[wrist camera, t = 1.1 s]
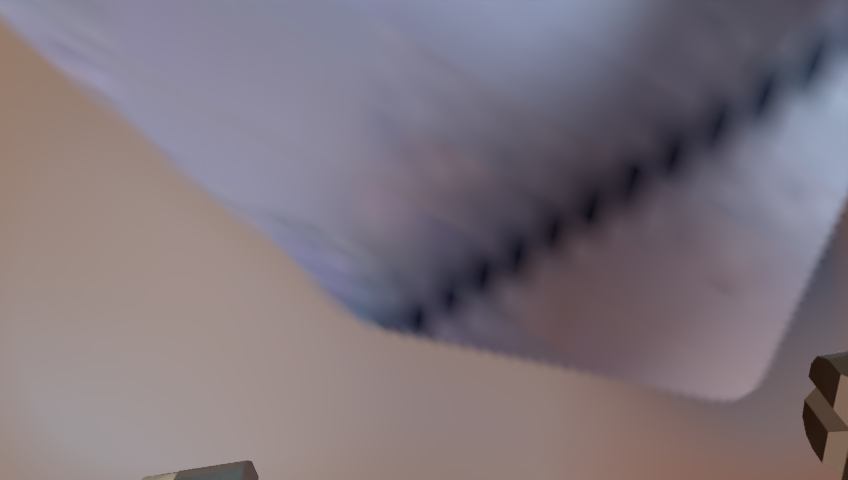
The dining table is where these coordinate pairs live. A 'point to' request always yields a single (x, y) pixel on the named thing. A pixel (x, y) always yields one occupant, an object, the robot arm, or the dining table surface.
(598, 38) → the dining table surface
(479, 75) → the dining table surface
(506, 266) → the dining table surface
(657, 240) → the dining table surface
